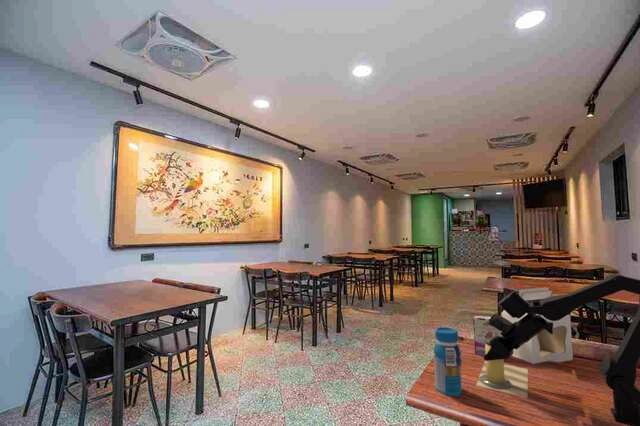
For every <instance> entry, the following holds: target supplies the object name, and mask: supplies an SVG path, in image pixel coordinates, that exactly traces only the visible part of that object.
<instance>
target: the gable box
mask: <svg viewBox="0 0 640 426" xmlns="http://www.w3.org/2000/svg"><path fill="white" fill-rule="evenodd" d="M552 292H553V290H549V287H548V286H547V287H546V286H543V287H531V288H530V287H529V288H521V289H518V292H517V293H518V294H519V295H520V296H521V297H522V298H523V299H524V300H525V301H526V302H527V301H533V300H534V301H535V300H542V299H544V298H548V297H552V296H554V293H552ZM525 315H527V313H526V314H525ZM525 315H524V316H525ZM536 315H538V314H536ZM501 316H502V317H503V318H505V319H507V320H508V321H510V322H511V323H514V322H518V321H519V320H520V319H522V318H523V317H524V316H522V317H521V318H519V319H518V318H516V317H515V318H513V317H511V316H510V315H509V314H508V313H507V312H506V311H505V310H504V309H503V311H502V312H501ZM540 316H542V315H540ZM542 317H543V318H544V316H542ZM544 319H545V320H546V321H548V322H553V334H550V333H549V332H548V331H547V330H545V329H544V330H543V331H541V332H540V333H538V334H537V335H536V336H534V337H533V338H531V339H530V340H529V341H528V342H526V343H524V344H523V345H522V346H520V347H519V348H518V349H517V350H516V349H513V354H512V355H511V356H513V357H515V358H517V359H520V360H523V361H525V362H528V363H530V364H533V365H535V364H539V363H545V362H553V363H554V362H555V363H564V362H569V361H573V359H574V356H573V354H574V353H573V340H572V339H573V338H572V326H571V323H572V322H571V321H572V320H571V315H570V314H568V315H567V316H565V317H564V318H562V319H560V320H558V321H551V320H548V319H546V318H544Z"/></svg>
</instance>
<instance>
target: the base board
mask: <svg viewBox="0 0 640 426" xmlns="http://www.w3.org/2000/svg"><path fill="white" fill-rule="evenodd" d="M482 375H487V372H486V361H485V360H484V362H483V365H482V367H481V371H480V374H479V376H478V379H477V382H476V384H475V386H476V387H477V388H483V389H486V390H492V391H495V392H499V393H503V394H508V395H513V396H517V397H521V398H525V399H528V389H529V388H528V387H529V384H528V383H529V381H528V379H529V378H528V377H529V369H528V368H524V367H519V366H515V365H509V364H504V378H506V379H507V380H509V381H510V382H511V387H510V388H508V389H496V388H492V387H489V386H486V385H484V384H483V383H482V382H481V381H480V376H482Z"/></svg>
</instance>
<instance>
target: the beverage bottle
mask: <svg viewBox="0 0 640 426" xmlns="http://www.w3.org/2000/svg"><path fill="white" fill-rule="evenodd" d="M434 333H435V335H434V336H435V340H436V342H435V344H434V347H433V353H434V355H433V363H434V382H435V383H434V388H435V390H436V391H437V392H438V393H440V394H442V395H444V396H450V397H457V396H460V395H462V394H463V383H462V382H463V381H462V380H463V378H462V366H463V362H462V361H463V360H462V358H461V355H462V352H461V349H460V347H459V345H458V344H457V343H458V341H459V332H458V330H456V329H455V328H452V327H443V326H441V327H436V328H435V332H434Z"/></svg>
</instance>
